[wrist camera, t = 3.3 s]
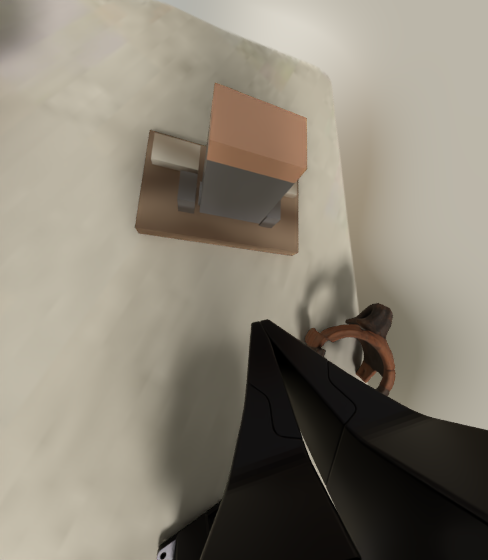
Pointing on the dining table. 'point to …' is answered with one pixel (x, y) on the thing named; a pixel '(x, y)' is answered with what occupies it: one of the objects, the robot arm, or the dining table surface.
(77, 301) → the dining table surface
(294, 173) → the grey block
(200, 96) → the dining table surface
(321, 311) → the dining table surface
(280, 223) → the brown rectangular slab
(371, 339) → the brown curved piece
